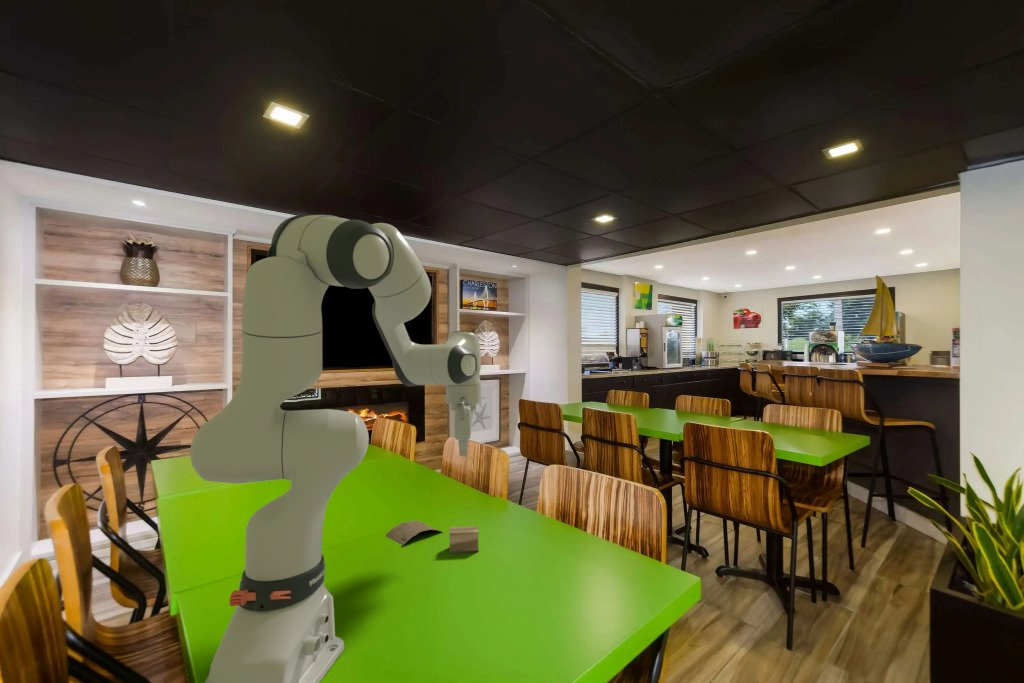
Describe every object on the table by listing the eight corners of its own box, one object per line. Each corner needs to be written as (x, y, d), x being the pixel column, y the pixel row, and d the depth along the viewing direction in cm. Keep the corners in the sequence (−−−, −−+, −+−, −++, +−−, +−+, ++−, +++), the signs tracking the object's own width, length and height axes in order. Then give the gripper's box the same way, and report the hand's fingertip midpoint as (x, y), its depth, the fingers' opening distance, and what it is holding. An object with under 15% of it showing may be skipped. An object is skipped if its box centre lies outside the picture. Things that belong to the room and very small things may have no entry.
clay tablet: (400, 550, 110) (400, 539, 110) (379, 539, 117) (379, 529, 117) (446, 533, 121) (446, 523, 121) (424, 524, 128) (424, 514, 128)
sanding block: (478, 552, 108) (478, 531, 108) (449, 553, 107) (449, 532, 107) (478, 546, 111) (478, 526, 111) (450, 547, 111) (450, 527, 111)
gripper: (476, 399, 100) (476, 461, 100) (476, 392, 121) (476, 443, 120) (448, 400, 100) (448, 461, 99) (453, 393, 120) (453, 444, 120)
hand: (463, 451), depth 110 cm, fingers open, 8 cm apart
